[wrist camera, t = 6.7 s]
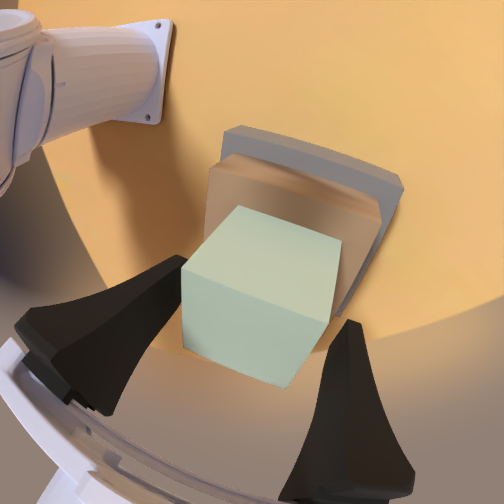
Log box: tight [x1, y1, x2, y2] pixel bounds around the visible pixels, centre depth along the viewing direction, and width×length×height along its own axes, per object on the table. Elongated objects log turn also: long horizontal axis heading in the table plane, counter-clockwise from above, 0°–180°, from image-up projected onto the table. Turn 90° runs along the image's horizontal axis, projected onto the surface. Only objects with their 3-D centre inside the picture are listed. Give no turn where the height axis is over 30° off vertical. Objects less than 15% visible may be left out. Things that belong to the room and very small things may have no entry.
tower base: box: [220, 125, 404, 317], centre depth 17 cm, size 10×10×3 cm
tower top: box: [203, 153, 382, 336], centre depth 15 cm, size 8×8×3 cm
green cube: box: [181, 205, 342, 389], centre depth 12 cm, size 5×5×5 cm
